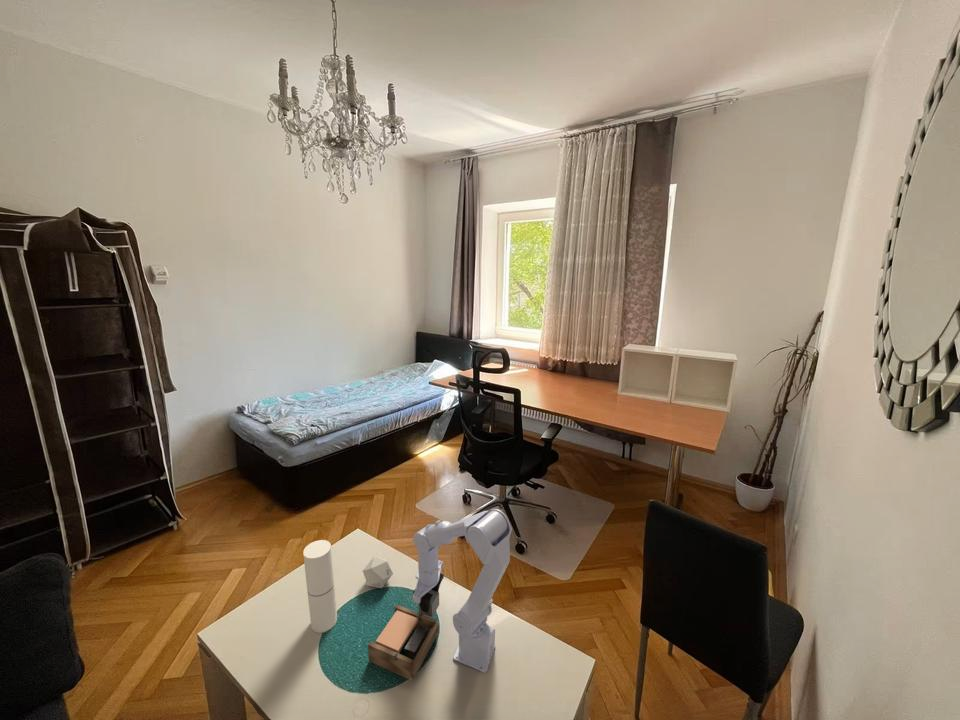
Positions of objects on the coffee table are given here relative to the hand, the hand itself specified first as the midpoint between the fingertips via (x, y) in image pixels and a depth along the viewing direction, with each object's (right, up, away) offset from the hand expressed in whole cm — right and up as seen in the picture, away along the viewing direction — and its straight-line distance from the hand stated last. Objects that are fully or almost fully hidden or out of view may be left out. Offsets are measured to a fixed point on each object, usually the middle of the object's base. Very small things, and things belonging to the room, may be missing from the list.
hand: (429, 603), depth 111 cm
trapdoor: (-6, -4, -9) cm, 11 cm away
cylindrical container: (-31, -5, -1) cm, 31 cm away
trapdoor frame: (-5, -7, -8) cm, 12 cm away
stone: (0, -2, 0) cm, 2 cm away
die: (-19, -2, +13) cm, 23 cm away
